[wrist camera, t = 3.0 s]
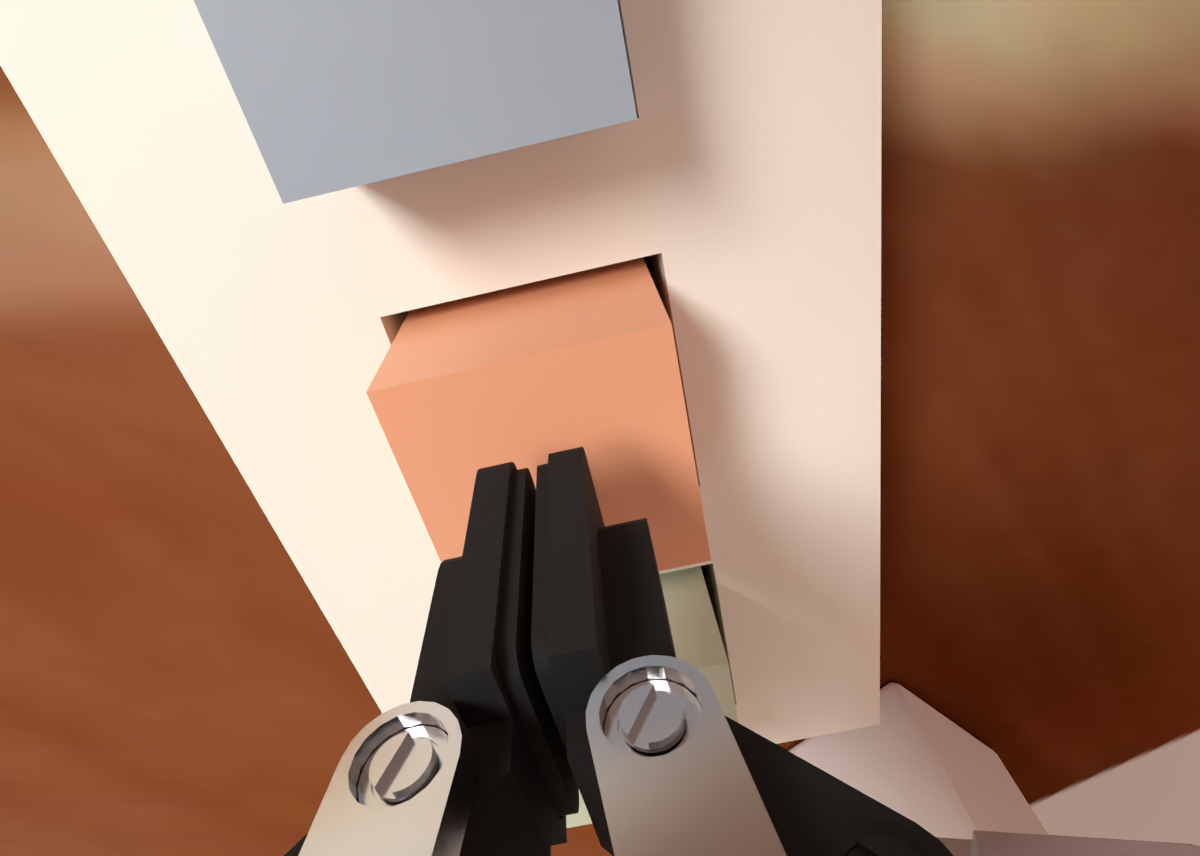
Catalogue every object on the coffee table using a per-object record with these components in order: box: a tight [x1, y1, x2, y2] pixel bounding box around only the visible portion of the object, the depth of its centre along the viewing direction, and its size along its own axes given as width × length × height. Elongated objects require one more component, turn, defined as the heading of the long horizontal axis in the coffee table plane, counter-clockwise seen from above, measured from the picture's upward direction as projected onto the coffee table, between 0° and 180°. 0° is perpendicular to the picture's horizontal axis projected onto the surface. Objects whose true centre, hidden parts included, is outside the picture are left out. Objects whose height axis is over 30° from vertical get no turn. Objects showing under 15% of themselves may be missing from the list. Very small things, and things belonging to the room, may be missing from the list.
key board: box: [0, 0, 882, 744], centre depth 16 cm, size 26×14×3 cm, turn 12°
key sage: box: [566, 566, 738, 828], centre depth 18 cm, size 5×5×4 cm
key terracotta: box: [366, 257, 711, 571], centre depth 14 cm, size 5×5×4 cm
